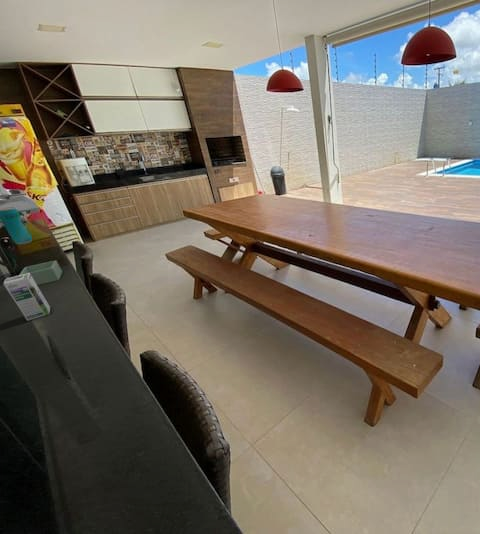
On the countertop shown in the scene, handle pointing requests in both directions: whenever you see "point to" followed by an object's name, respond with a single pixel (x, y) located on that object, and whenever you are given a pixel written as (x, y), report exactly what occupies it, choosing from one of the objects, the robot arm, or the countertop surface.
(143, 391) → the countertop surface
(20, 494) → the countertop surface
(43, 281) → the bin
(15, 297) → the syrup box
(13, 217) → the teal tall block
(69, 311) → the countertop surface
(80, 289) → the countertop surface
